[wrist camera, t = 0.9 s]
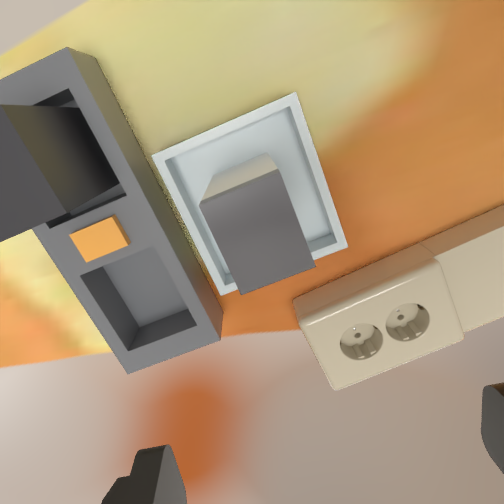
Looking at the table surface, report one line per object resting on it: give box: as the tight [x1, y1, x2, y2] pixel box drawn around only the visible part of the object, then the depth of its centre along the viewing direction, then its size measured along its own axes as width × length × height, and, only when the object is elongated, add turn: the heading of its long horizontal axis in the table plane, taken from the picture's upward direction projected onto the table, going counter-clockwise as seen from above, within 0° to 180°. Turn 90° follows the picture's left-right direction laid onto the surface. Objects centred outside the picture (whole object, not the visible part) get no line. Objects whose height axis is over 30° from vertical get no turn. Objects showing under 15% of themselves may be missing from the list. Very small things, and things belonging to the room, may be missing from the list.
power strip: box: [0, 47, 223, 374], centre depth 22 cm, size 20×8×10 cm, turn 22°
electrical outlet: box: [293, 205, 504, 391], centre depth 28 cm, size 7×4×18 cm
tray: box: [151, 92, 348, 295], centre depth 25 cm, size 10×11×3 cm
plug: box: [199, 152, 316, 295], centre depth 22 cm, size 4×5×9 cm
